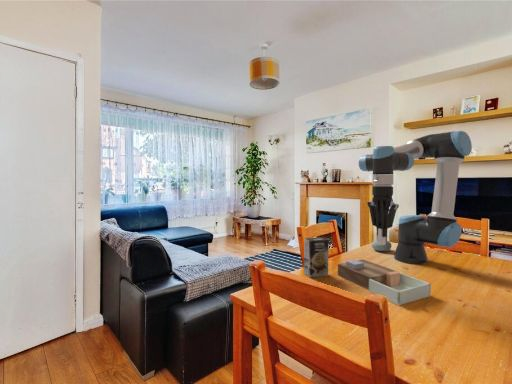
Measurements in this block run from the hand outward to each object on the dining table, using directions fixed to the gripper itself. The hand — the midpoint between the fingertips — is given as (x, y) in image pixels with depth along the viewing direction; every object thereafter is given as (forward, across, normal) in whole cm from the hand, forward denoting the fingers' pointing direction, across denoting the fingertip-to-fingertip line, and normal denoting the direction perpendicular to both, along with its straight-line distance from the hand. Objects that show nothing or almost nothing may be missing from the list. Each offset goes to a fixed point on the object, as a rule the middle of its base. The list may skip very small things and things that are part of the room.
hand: (381, 244), depth 109 cm
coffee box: (+16, -21, -16) cm, 31 cm away
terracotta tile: (+13, +3, +2) cm, 14 cm away
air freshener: (+17, -34, +42) cm, 57 cm away
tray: (+16, +9, -2) cm, 19 cm away
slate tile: (+11, -10, -5) cm, 15 cm away
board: (+16, -6, -1) cm, 17 cm away
